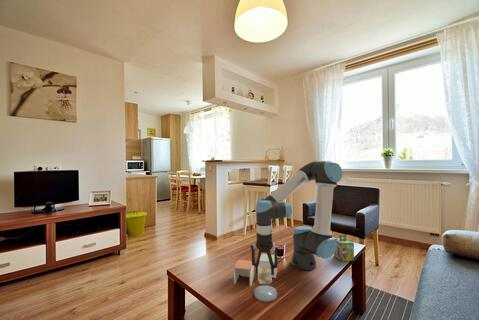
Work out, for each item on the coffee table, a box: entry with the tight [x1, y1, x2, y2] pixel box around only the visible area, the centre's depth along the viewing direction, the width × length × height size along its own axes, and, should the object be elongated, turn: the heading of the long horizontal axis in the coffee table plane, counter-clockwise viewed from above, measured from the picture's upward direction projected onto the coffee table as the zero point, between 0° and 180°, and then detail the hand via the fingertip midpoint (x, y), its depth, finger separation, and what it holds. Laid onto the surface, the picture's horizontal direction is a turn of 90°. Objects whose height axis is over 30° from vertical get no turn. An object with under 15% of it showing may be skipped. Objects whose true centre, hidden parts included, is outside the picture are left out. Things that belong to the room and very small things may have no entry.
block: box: [258, 268, 271, 286], centre depth 104 cm, size 5×5×5 cm
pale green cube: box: [259, 253, 278, 279], centre depth 124 cm, size 9×9×9 cm
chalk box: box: [333, 234, 355, 262], centre depth 140 cm, size 9×9×15 cm
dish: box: [253, 284, 278, 303], centre depth 104 cm, size 11×11×1 cm
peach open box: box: [233, 259, 255, 287], centre depth 117 cm, size 9×9×9 cm
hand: (264, 280), depth 104 cm, fingers closed on block, 5 cm apart
